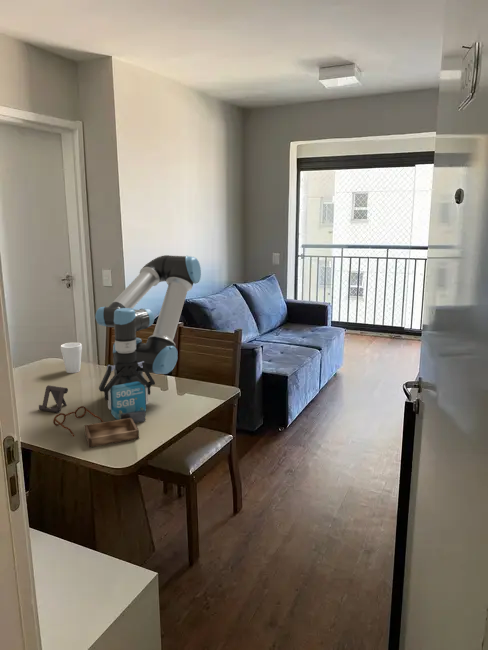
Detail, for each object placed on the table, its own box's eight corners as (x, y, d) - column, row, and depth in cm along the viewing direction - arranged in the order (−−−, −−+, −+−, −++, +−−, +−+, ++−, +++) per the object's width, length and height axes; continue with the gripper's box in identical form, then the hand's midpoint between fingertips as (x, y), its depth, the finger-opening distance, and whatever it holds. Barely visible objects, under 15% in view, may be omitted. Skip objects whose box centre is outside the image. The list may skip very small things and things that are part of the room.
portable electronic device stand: (38, 410, 186) (36, 390, 184) (52, 403, 193) (51, 383, 191) (57, 413, 183) (55, 392, 181) (71, 406, 190) (69, 386, 188)
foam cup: (58, 373, 230) (56, 347, 227) (68, 367, 238) (67, 342, 236) (77, 374, 228) (75, 348, 225) (86, 368, 237) (85, 343, 234)
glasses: (85, 416, 182) (84, 404, 181) (106, 425, 174) (105, 412, 173) (53, 428, 172) (51, 414, 171) (73, 438, 164) (72, 424, 163)
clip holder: (135, 405, 191) (135, 396, 190) (145, 421, 177) (145, 411, 176) (113, 409, 188) (113, 399, 187) (121, 425, 173) (121, 414, 172)
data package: (115, 420, 177) (113, 389, 174) (111, 416, 181) (109, 386, 178) (146, 413, 183) (145, 383, 181) (141, 410, 187) (140, 380, 185)
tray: (131, 425, 173) (131, 417, 172) (139, 438, 163) (138, 430, 162) (85, 433, 167) (84, 425, 166) (89, 447, 156) (88, 439, 156)
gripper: (91, 356, 168) (95, 414, 173) (162, 349, 178) (163, 404, 183) (89, 351, 175) (92, 406, 179) (156, 345, 185) (158, 397, 189)
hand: (128, 405), depth 181 cm, fingers open, 13 cm apart
